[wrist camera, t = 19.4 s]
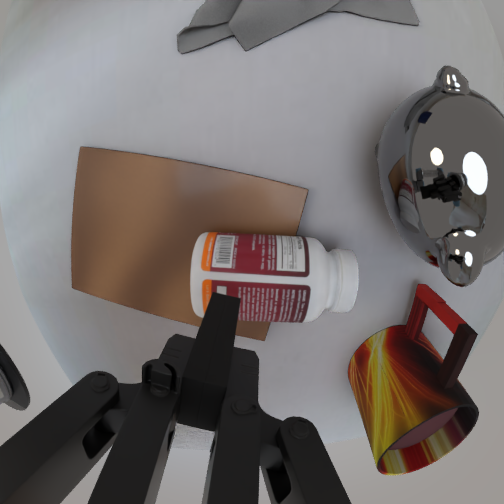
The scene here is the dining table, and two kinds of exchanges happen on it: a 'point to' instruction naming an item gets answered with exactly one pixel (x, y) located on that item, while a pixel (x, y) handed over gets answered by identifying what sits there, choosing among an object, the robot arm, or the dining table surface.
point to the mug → (413, 389)
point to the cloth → (276, 18)
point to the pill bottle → (273, 276)
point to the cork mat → (165, 226)
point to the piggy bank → (446, 176)
